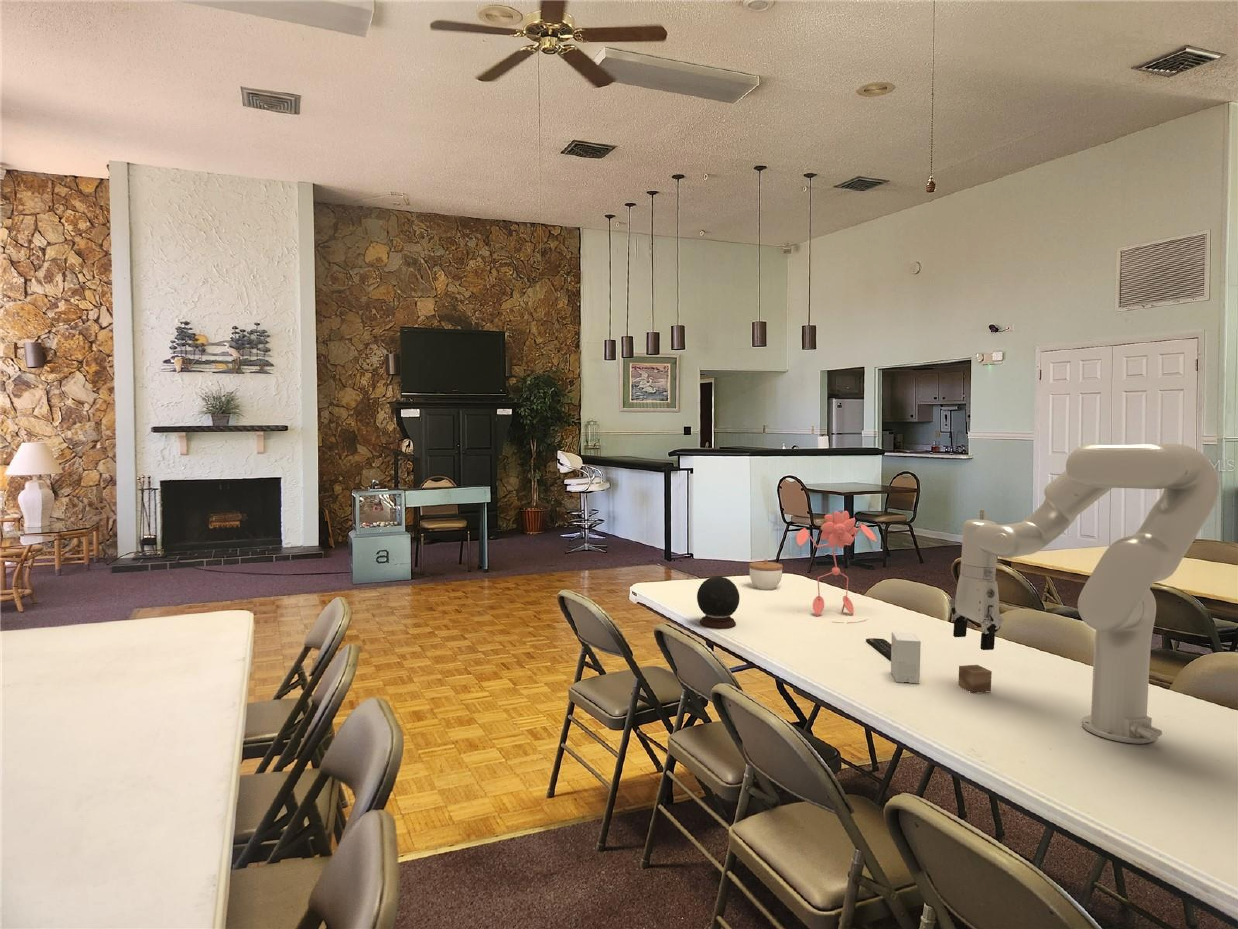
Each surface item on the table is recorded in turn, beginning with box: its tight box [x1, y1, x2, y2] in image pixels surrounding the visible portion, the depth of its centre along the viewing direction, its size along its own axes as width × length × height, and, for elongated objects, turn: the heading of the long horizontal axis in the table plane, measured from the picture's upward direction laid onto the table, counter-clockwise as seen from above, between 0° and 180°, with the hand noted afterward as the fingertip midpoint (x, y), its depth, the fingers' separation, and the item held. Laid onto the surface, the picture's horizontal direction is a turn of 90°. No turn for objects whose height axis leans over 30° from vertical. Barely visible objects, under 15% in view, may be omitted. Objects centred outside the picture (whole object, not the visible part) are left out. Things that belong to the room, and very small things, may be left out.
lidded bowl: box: [748, 558, 784, 591], centre depth 289 cm, size 13×13×11 cm
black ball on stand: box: [696, 575, 740, 630], centre depth 235 cm, size 13×13×15 cm
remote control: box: [865, 637, 891, 662], centre depth 207 cm, size 5×24×1 cm, turn 2°
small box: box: [890, 631, 922, 684], centre depth 186 cm, size 8×6×10 cm
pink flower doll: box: [796, 510, 878, 624], centre depth 245 cm, size 15×26×35 cm, turn 95°
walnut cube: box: [957, 664, 993, 694], centre depth 179 cm, size 5×5×5 cm
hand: (973, 643), depth 179 cm, fingers open, 9 cm apart
